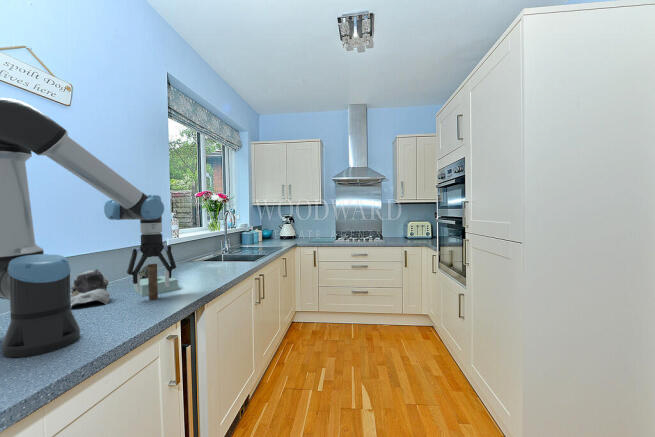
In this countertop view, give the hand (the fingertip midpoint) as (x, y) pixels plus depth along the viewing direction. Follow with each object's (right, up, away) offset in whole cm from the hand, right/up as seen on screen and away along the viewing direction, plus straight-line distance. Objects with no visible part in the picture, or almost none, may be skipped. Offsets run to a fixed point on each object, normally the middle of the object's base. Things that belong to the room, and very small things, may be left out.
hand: (153, 288), depth 121 cm
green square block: (-7, -4, +14) cm, 16 cm away
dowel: (0, -4, 0) cm, 4 cm away
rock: (-18, -4, +24) cm, 31 cm away
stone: (-21, -5, -6) cm, 22 cm away
